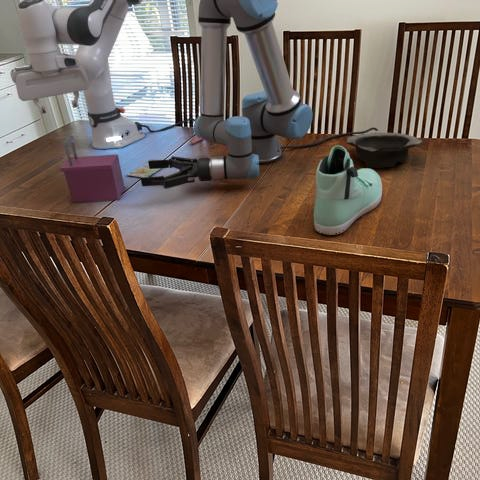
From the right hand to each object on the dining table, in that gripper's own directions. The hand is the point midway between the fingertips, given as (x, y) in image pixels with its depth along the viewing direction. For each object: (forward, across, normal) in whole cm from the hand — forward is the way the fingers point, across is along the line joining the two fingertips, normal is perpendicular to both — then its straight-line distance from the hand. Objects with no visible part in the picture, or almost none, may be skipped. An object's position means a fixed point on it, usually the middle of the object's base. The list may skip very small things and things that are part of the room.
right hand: (145, 173), depth 154 cm
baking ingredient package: (+3, +20, -7) cm, 21 cm away
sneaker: (-62, -19, -7) cm, 65 cm away
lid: (+17, +1, +4) cm, 18 cm away
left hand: (+22, +1, +22) cm, 31 cm away
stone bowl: (-80, +16, -7) cm, 81 cm away
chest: (+17, 0, -7) cm, 18 cm away
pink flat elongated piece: (-13, +50, -7) cm, 52 cm away
